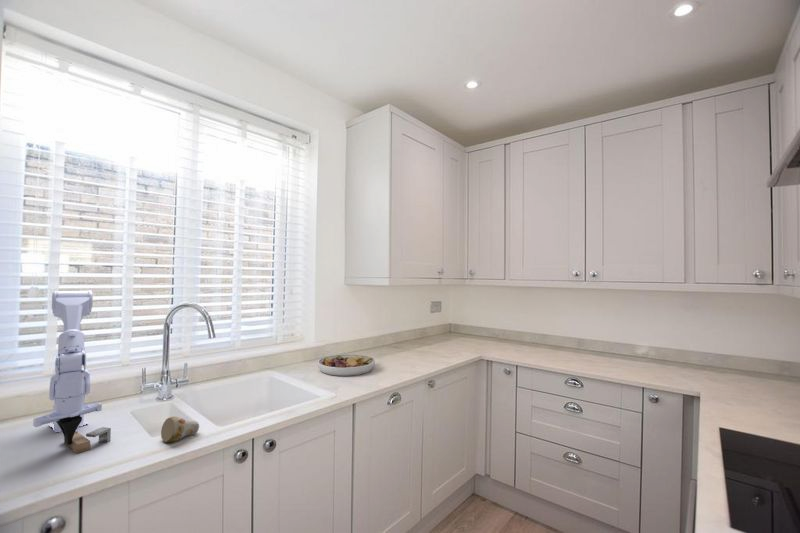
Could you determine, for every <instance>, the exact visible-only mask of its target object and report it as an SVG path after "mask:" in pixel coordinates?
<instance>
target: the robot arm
mask: <svg viewBox="0 0 800 533" xmlns="http://www.w3.org/2000/svg"><path fill="white" fill-rule="evenodd" d="M51 294H52V296H51V310H52V314H53V317H55V318H59V319H61V321H62V323H63V332H62V333H61V334H59V336H58V342H57V343H58V346H57V355H55V360H54V373H53V374H52V376H50V382H49V390H48V391H49V397H48V399H49V400H50V401H54V403H53V405H52V412H51V413H48V414H45V415H42V416H39V417H34V418H33V420H32V421H33V424H32V425H33V427H34V428H38V427H41V426H43V425H47V424H48V425H49V424H52V423H53V424H54V430H53V432H54V433H56V432H59V433H61V432H60V431H62V435H63V439H64V438H65V444H64V445H66V444H67V445H70V444H72V439H73V436H74V433H75V431H77V429H78V428H80V427H79V426H82V425H86V424H88V425H89V422H88V421H86V422H84V420H85V415H87V414H90V413H91V414H92V413H95V412H100V411H102V410H103V409H102V408H103V407H102V405H103V404H102V403H100V402H97V403H93V404H86V405H85V398H86V396H88V395H89V394H90V392H91V377H90V376H91V375H90V372H89V370H88V369H86V368H87V353H86V348H85V333H84V332H82V331H81V323H82V320H83V319H84V318H85V317H86V316H89V315H91V312H92V309H93V299H94V298H93V291H91V290H90V289H89V290H71V291H70V290H68V291H67V290H65V291H60V290H59V291H57V290H54V291H53V292H52V293H51ZM82 366H83V367H82ZM85 423H86V424H85ZM86 426H87V425H86ZM77 427H78V428H77ZM82 427H83V426H82ZM67 445H66V446H67Z"/></svg>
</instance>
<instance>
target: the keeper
mask: <svg viewBox="0 0 800 533" xmlns="http://www.w3.org/2000/svg"><path fill="white" fill-rule="evenodd" d="M111 430H112V429H111V427H106V426H105V427H104V426H102V427H99V428H96V429H94V430H92V431H90V432H87V433H86V434H85V437H86V438H87V437H88V438H96V437H98V442H103V443H108V442H110V441H111V437H112V436H111V433H112V432H111Z"/></svg>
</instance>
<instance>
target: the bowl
mask: <svg viewBox="0 0 800 533" xmlns="http://www.w3.org/2000/svg"><path fill="white" fill-rule="evenodd" d="M375 365H376V359H375V358H373V357H371V356H368V355H362V354H335V355H329V356H325V357H322V358H320V359H318V360H317V368H318V369H319V370H320V371H321V372H322V373H323V374H326V375H330V376H335V377H353V376H360V375H364V374H367V373H369V372H371V371H372V370H373V369H374V368H375Z"/></svg>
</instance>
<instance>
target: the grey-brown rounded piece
mask: <svg viewBox="0 0 800 533" xmlns="http://www.w3.org/2000/svg"><path fill="white" fill-rule="evenodd" d="M199 429H200V424H199V422H198V421H196V420H187V419H185V418H183V417H180V416H169V417H167V418H166V419H165V420H164V422H163V424H162V425H161V431H160V436H161V439H162V442H163V443H173V441H174V442H176V441H179V440H180V439H182V438H184V437H187V436H191V435H192V434H193V435H195V434H197V433H198V432H199Z"/></svg>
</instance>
